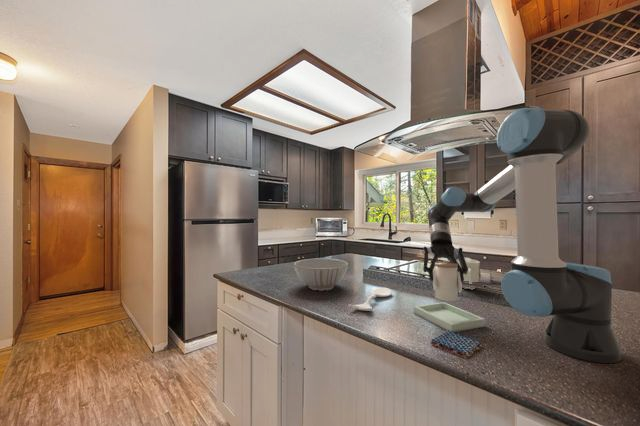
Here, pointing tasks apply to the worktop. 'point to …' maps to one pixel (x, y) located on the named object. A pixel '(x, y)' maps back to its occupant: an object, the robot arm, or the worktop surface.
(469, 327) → the tray
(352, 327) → the worktop surface
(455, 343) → the woven mat
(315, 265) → the decorative bowl
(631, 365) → the worktop surface
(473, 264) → the pitcher
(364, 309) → the spoon
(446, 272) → the canister
